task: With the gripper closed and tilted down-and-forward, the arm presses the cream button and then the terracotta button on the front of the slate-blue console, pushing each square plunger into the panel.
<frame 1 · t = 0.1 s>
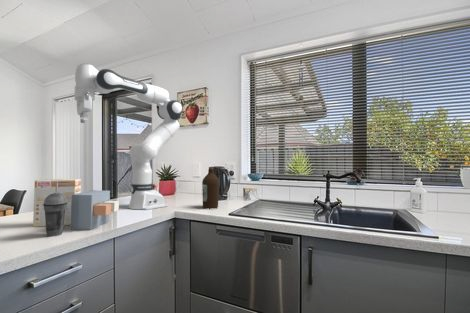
hand: (83, 121, 119), 48 cm above the worktop, tool pointing down, fingers open, 8 cm apart
terracotta button: (101, 209, 96), point 8 cm above the worktop, slide at 0.0 cm
cream button: (109, 206, 103), point 8 cm above the worktop, slide at 0.0 cm
console: (100, 225, 99), on the worktop
olive oil: (210, 207, 141), on the worktop
beverage cup: (54, 235, 86), on the worktop
coffeecake box: (57, 224, 100), on the worktop
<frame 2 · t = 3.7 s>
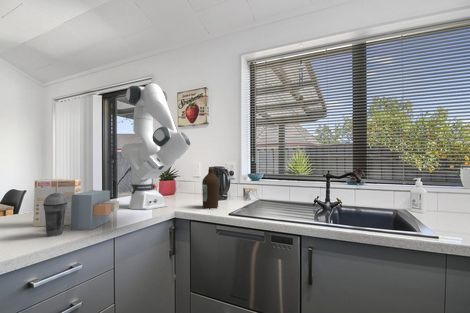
hand: (139, 183, 103), 18 cm above the worktop, tool tilted 45°, fingers closed
nothing on the worktop moved.
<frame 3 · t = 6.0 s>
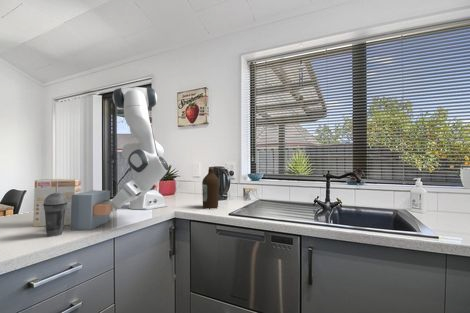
hand: (116, 207, 103), 7 cm above the worktop, tool tilted 45°, fingers closed, pressing on cream button
cream button: (108, 206, 103), point 7 cm above the worktop, slide at 0.7 cm, touching gripper
everything else where it was.
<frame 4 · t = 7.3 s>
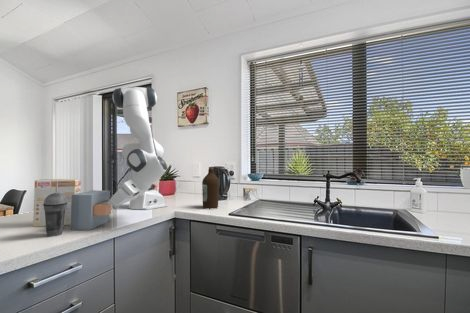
hand: (114, 207, 103), 7 cm above the worktop, tool tilted 45°, fingers closed
cream button: (103, 206, 103), point 7 cm above the worktop, slide at 2.9 cm
everything else where it was.
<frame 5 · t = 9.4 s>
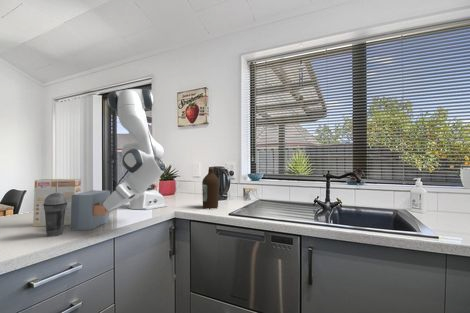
hand: (108, 211, 96), 7 cm above the worktop, tool tilted 45°, fingers closed, pressing on terracotta button
terracotta button: (100, 209, 96), point 8 cm above the worktop, slide at 0.4 cm, touching gripper
everything else where it was.
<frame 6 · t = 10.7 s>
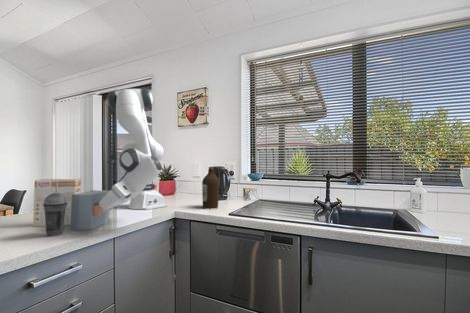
hand: (105, 210, 96), 7 cm above the worktop, tool tilted 45°, fingers closed
terracotta button: (94, 209, 96), point 8 cm above the worktop, slide at 2.9 cm
everything else where it was.
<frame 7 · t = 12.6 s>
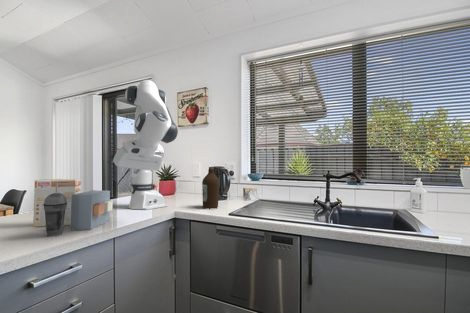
hand: (132, 176, 99), 22 cm above the worktop, tool tilted 30°, fingers closed
nothing on the worktop moved.
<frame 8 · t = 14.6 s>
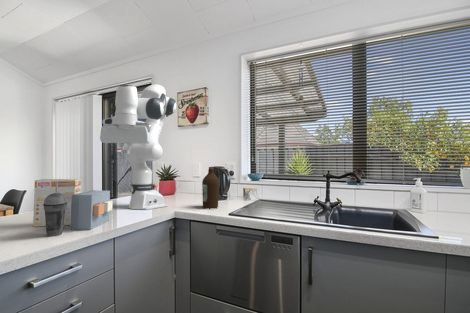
hand: (125, 153, 98), 31 cm above the worktop, tool pointing down, fingers closed
nothing on the worktop moved.
at the end: cream button slide at 2.9 cm; terracotta button slide at 2.9 cm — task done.
